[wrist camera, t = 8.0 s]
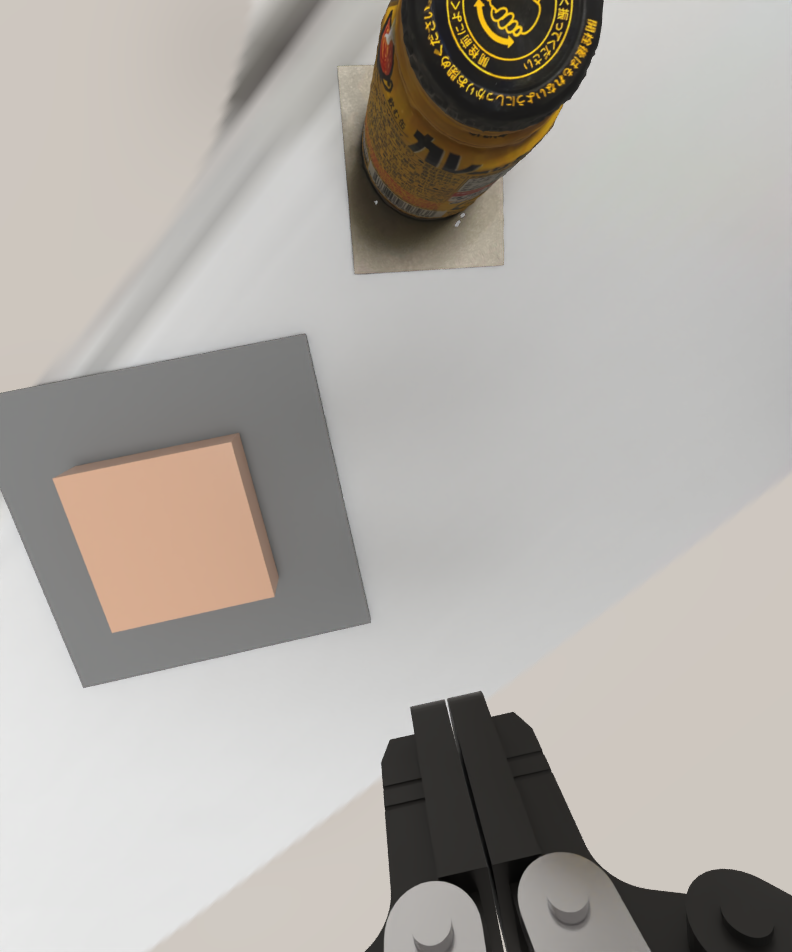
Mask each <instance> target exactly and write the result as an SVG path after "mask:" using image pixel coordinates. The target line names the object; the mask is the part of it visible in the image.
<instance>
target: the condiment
mask: <svg viewBox="0 0 792 952" xmlns="http://www.w3.org/2000/svg"><path fill="white" fill-rule="evenodd" d="M603 2H604V0H391V1H390V3H389V5H388V8H387V10H386V13H385V15H384V17H383V19H382V22H381V30H380V35H379V43H378V46H377V55H376V60H375V64H374V65H353V66H338V78H339V91H340V103H341V116H342V127H343V140H344V152H345V164H346V178H347V187H348V197H349V211H350V224H351V236H352V246H353V259H354V271H355V274H365V273H383V272H400V271H417V270H435V269H451V268H467V267H483V266H498V265H504V239H503V225H504V218H503V176H504V175H505V174H506V173H507V172H508V171H509V170H511V168H512V167H514V166H515V165H516V164H517V163H518V162H519V161H520V160H522V159H523V158H524V157H525V156H526V155H527V154H528V153H529V152H530V151H531V150H532V149H533V148H534V147H535V146H536V145H537V144H538V143H539V142H540V141H541V140H542V139H543V137H544V136H545V135H546V134H547V133H548V132H549V131H550V130H551V128H552V127H553V125H554V122H555V120H556V118H557V116H558V114H559V112H560V110H561V109H562V106H563V104H564V103H565V102H566V101H567V100H570V99H571V97H572V96H573V94H574V93H575V92H576V90H577V89H578V87H579V85H580V84H581V82H582V80H583V79H584V77H585V76H586V72H587V69H588V67H589V65H590V63H591V59H592V57H593V56H594V55H595V50H596V49H597V46H598V43H599V38H600V33H601V26H602V12H603ZM376 200H377V201H378V204H376V205H375V203H374V201H376ZM462 213H465V216H464V217H463V218H460V215H461V214H462ZM458 220H460V221H461V222H460V224H459V226H458V227H455V224H456V222H457V221H458Z"/></svg>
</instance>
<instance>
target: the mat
mask: <svg viewBox="0 0 792 952" xmlns="http://www.w3.org/2000/svg"><path fill="white" fill-rule="evenodd" d="M235 433H239V434H240V438H241V442H242V445H243V449H244V452H245V456H246V460H247V463H248V467H249V471H250V474H251V478H252V482H253V485H254V489H255V492H256V496H257V500H258V503H259V507H260V511H261V514H262V518H263V522H264V525H265V529H266V532H267V536H268V540H269V543H270V547H271V551H272V554H273V558H274V561H275V565H276V569H277V572H278V576H279V579H278V583H277V588H276V593H275V597H272V598H267V599H263V600H258V601H254V602H249V603H245V604H240V605H236V606H231V607H227V608H222V609H218V610H213V611H209V612H204V613H200V614H195V615H191V616H186V617H182V618H177V619H173V620H168V621H164V622H159V623H155V624H150V625H146V626H141V627H137V628H132V629H128V630H123V631H119V632H114V633H112V632H111V629H110V626H109V624H108V621H107V619H106V616H105V614H104V611H103V608H102V606H101V603H100V601H99V598H98V595H97V593H96V590H95V588H94V585H93V582H92V580H91V577H90V575H89V572H88V570H87V567H86V564H85V562H84V559H83V557H82V554H81V551H80V549H79V546H78V544H77V541H76V539H75V536H74V533H73V531H72V528H71V526H70V523H69V520H68V518H67V515H66V513H65V510H64V507H63V505H62V502H61V500H60V497H59V495H58V492H57V489H56V487H55V484H54V482H53V478H54V477H56V476H58V475H60V474H62V473H63V472H65V471H67V470H69V469H71V468H73V467H74V466H79V465H84V464H88V463H93V462H98V461H103V460H108V459H113V458H118V457H123V456H128V455H133V454H137V453H142V452H147V451H152V450H157V449H162V448H167V447H172V446H177V445H182V444H186V443H191V442H196V441H201V440H206V439H211V438H216V437H221V436H226V435H231V434H235ZM0 489H1V492H2V494H3V497H4V499H5V501H6V504H7V506H8V508H9V511H10V513H11V516H12V518H13V520H14V523H15V525H16V528H17V530H18V532H19V535H20V537H21V540H22V542H23V544H24V547H25V549H26V552H27V554H28V556H29V559H30V561H31V564H32V566H33V568H34V571H35V573H36V575H37V578H38V580H39V583H40V585H41V587H42V590H43V592H44V595H45V597H46V599H47V602H48V604H49V607H50V609H51V611H52V614H53V616H54V619H55V621H56V623H57V626H58V628H59V631H60V633H61V635H62V638H63V640H64V642H65V645H66V647H67V650H68V652H69V654H70V657H71V659H72V662H73V664H74V666H75V669H76V671H77V674H78V676H79V678H80V681H81V683H82V686H83V688H86V687H90V686H95V685H99V684H104V683H108V682H112V681H117V680H121V679H126V678H130V677H134V676H139V675H143V674H148V673H152V672H156V671H161V670H165V669H169V668H174V667H178V666H183V665H187V664H191V663H196V662H200V661H205V660H209V659H213V658H218V657H222V656H227V655H231V654H235V653H240V652H244V651H249V650H253V649H257V648H262V647H266V646H271V645H275V644H279V643H284V642H288V641H293V640H297V639H301V638H306V637H310V636H315V635H319V634H323V633H328V632H332V631H337V630H341V629H345V628H350V627H354V626H359V625H363V624H367V623H371V620H370V615H369V611H368V606H367V602H366V598H365V593H364V589H363V584H362V580H361V576H360V571H359V567H358V562H357V558H356V554H355V549H354V545H353V540H352V536H351V532H350V527H349V523H348V518H347V514H346V510H345V505H344V501H343V496H342V492H341V487H340V483H339V479H338V474H337V470H336V465H335V461H334V457H333V452H332V448H331V443H330V439H329V435H328V430H327V426H326V421H325V417H324V413H323V408H322V404H321V399H320V395H319V390H318V386H317V382H316V377H315V373H314V368H313V364H312V360H311V355H310V351H309V346H308V342H307V338H306V334H301V335H296V336H290V337H285V338H280V339H275V340H270V341H265V342H260V343H255V344H249V345H244V346H239V347H234V348H229V349H224V350H219V351H213V352H208V353H203V354H198V355H193V356H188V357H183V358H178V359H172V360H167V361H162V362H157V363H152V364H147V365H142V366H136V367H131V368H126V369H121V370H116V371H111V372H106V373H101V374H95V375H90V376H85V377H80V378H75V379H70V380H65V381H59V382H54V383H49V384H44V385H39V386H34V387H29V388H24V389H18V390H13V391H8V392H3V393H0Z"/></svg>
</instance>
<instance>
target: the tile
mask: <svg viewBox="0 0 792 952" xmlns="http://www.w3.org/2000/svg"><path fill="white" fill-rule="evenodd" d="M53 482H54V484H55V487H56V489H57V492H58V495H59V497H60V500H61V502H62V505H63V507H64V510H65V513H66V515H67V518H68V520H69V523H70V526H71V528H72V531H73V533H74V536H75V539H76V541H77V544H78V546H79V549H80V551H81V554H82V557H83V559H84V562H85V564H86V567H87V570H88V572H89V575H90V577H91V580H92V582H93V585H94V588H95V590H96V593H97V595H98V598H99V601H100V603H101V606H102V608H103V611H104V614H105V616H106V619H107V621H108V624H109V626H110V629H111V632H112V633H114V632H119V631H123V630H128V629H132V628H137V627H141V626H146V625H150V624H155V623H159V622H164V621H168V620H173V619H177V618H182V617H186V616H191V615H195V614H200V613H204V612H209V611H213V610H218V609H222V608H227V607H231V606H236V605H240V604H245V603H249V602H254V601H258V600H263V599H267V598H272V597H275V593H276V588H277V583H278V579H279V576H278V572H277V569H276V565H275V561H274V558H273V554H272V551H271V547H270V543H269V540H268V536H267V532H266V529H265V525H264V522H263V518H262V514H261V511H260V507H259V503H258V500H257V496H256V492H255V489H254V485H253V482H252V478H251V474H250V471H249V467H248V463H247V460H246V456H245V452H244V449H243V445H242V442H241V438H240V434H239V433H235V434H231V435H226V436H221V437H216V438H211V439H206V440H201V441H196V442H191V443H186V444H182V445H177V446H172V447H167V448H162V449H157V450H152V451H147V452H142V453H137V454H133V455H128V456H123V457H118V458H113V459H108V460H103V461H98V462H93V463H88V464H84V465H79V466H74V467H73V468H71V469H69V470H67V471H65V472H63V473H62V474H60V475H58V476H56V477H54V478H53Z"/></svg>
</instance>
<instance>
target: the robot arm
mask: <svg viewBox="0 0 792 952" xmlns="http://www.w3.org/2000/svg"><path fill="white" fill-rule="evenodd" d="M447 701H448V707H449V712H450V717H451V722H452V727H453V731H452V727H451V723H450V719H449V715H448V711H447V707H446V703H445V700H439V701H435V702H430V703H426V704H421V705H417V706H412V707H410V708H411V715H412V721H413V727H414V733H415V734H414V735H409V736H405V737H400V738H396V739H391V740H390V741H389V744H388V746H387V749H386V751H385V754H384V757H383V759H382V762H381V766H382V779H383V789H384V805H385V819H386V831H387V844H388V858H389V872H390V884H391V903H390V910H389V913H388V917H387V919H386V922H385V924H384V926H383V929H382V930H381V932H380V934H379V935H378V937H377V938H376V940H375V941H374V942H373V944H372V945H371V946H370V947H369V948H368V949H367V950H366V951H365V952H504V950H503V945H502V940H501V935H500V930H499V924H498V919H499V923H500V927H501V931H502V935H503V939H504V943H505V947H506V951H507V952H792V896H791V895H790V894H788V893H786V892H784V891H782V890H780V889H779V888H777V887H775V886H773V885H771V884H769V883H767V882H765V881H763V880H762V879H760V878H758V877H755V876H753V875H751V874H748V873H745V872H742V871H737V870H732V869H731V870H730V869H717V870H711V871H708V872H705V873H703V874H702V875H700V876H698V877H697V878H696V879H695V880H694V881H693V882H692V884H691V885H690V887H689V889H688V892H687V894H683V893H674V892H666V891H658V890H649V889H644V888H639V887H636V886H632V885H630V884H627V883H625V882H623V881H621V880H619V879H617V878H616V877H614V876H612V875H611V874H610V873H608V872H607V871H606V870H605V869H603V868H602V867H601V866H600V865H599V864H598V863H597V862H596V861H595V859H594V858H593V857H592V855H591V854H590V852H589V851H588V849H587V847H586V845H585V843H584V841H583V839H582V836H581V834H580V832H579V830H578V828H577V826H576V823H575V821H574V819H573V817H572V815H571V813H570V810H569V808H568V806H567V804H566V802H565V799H564V797H563V795H562V793H561V790H560V788H559V786H558V784H557V782H556V780H555V777H554V775H553V773H552V772H551V769H550V766H549V764H548V762H547V760H546V758H545V756H544V755H543V752H542V749H541V747H540V744H539V742H538V740H537V738H536V736H535V734H534V732H533V729H532V728H531V727H530V726H529V725H528V724H527V723H525V722H524V721H523V720H522V719H521V718H520V717H519V716H517V715H516V714H515V713H514V712H511V713H507V714H502V715H498V716H493V717H491V715H490V712H489V710H488V707H487V704H486V701H485V699H484V696H483V693H482V692H481V691H479V692H474V693H470V694H465V695H461V696H456V697H452V698H447ZM453 732H454V734H453ZM454 737H455V738H454ZM496 911H497V914H496ZM497 915H498V919H497Z"/></svg>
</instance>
